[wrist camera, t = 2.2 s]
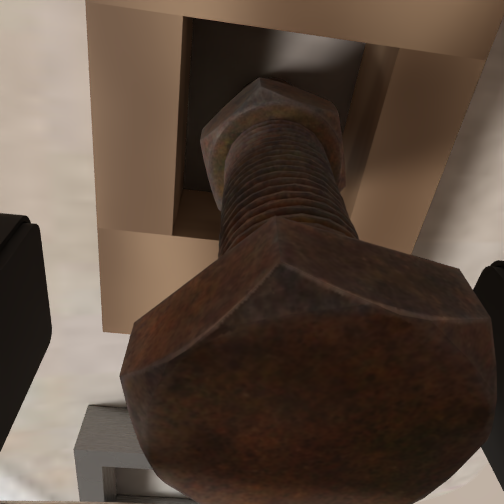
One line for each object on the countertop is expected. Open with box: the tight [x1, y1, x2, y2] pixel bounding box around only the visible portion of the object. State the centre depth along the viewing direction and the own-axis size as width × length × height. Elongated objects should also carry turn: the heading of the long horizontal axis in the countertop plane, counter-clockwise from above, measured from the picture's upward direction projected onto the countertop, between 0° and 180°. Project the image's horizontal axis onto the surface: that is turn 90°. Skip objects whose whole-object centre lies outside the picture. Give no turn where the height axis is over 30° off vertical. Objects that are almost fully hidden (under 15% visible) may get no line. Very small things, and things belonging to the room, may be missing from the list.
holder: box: [74, 406, 200, 504], centre depth 31 cm, size 10×12×3 cm
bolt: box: [120, 77, 497, 504], centre depth 13 cm, size 6×5×15 cm
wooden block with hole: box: [85, 0, 504, 334], centre depth 18 cm, size 12×18×4 cm, turn 172°
